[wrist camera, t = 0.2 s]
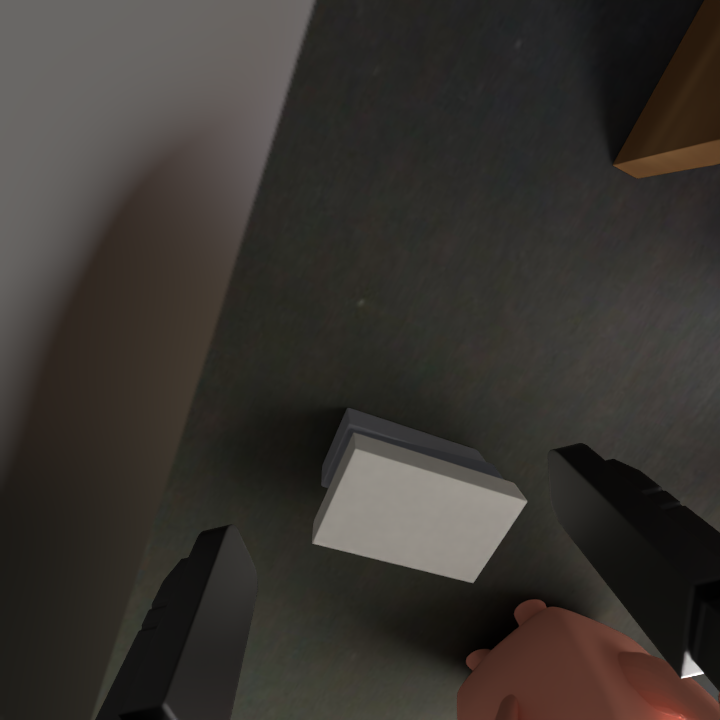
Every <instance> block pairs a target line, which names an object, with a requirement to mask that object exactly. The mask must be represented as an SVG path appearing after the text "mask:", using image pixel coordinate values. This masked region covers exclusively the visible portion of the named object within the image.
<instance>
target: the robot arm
mask: <svg viewBox="0 0 720 720" xmlns="http://www.w3.org/2000/svg"><path fill="white" fill-rule="evenodd" d="M548 469H549V488H550V501H551V505H552V508H553V511H554V513H555V515H556V517H557V519H558V521H559V523H560V524H561V525H562V527H563V528H564V529H565V531H566V532H567V533H568V535H569V536H570V537H571V538H572V540H573V541H574V542H575V544H576V545H577V546H578V547H579V549H580V550H581V551H582V553H583V554H584V555H585V556H586V558H587V559H588V560H589V562H590V563H591V564H592V565H593V567H594V568H595V569H596V571H597V572H598V573H599V574H600V576H601V577H602V578H603V580H604V581H605V582H606V583H607V585H608V586H609V587H610V589H611V590H612V591H613V592H614V594H615V595H616V596H617V598H618V599H619V600H620V601H621V603H622V604H623V605H624V607H625V608H626V609H627V610H628V612H629V613H630V614H631V616H632V617H633V618H634V619H635V621H636V622H637V623H638V625H639V626H640V627H641V628H642V630H643V631H644V632H645V634H646V635H647V636H648V637H649V639H650V640H651V641H652V643H653V644H654V645H655V647H656V648H657V649H658V650H659V652H660V653H661V654H662V656H663V657H664V658H665V659H666V661H667V662H668V663H669V665H670V666H671V667H672V668H673V670H674V671H675V672H676V674H677V675H678V676H679V677H680V679H682V678H686V677H691V676H695V675H699V674H705V675H706V676H707V677H708V679H709V680H710V681H711V682H712V683H713V685H714V686H715V687H716V688H717V689H718V690H719V696H718V698H719V706H720V533H719V532H718V531H717V530H716V529H714V528H713V527H712V526H710V525H709V524H708V523H707V522H705V521H704V520H703V519H701V518H700V517H699V516H698V515H696V514H695V513H694V512H692V511H691V510H690V509H689V508H687V507H686V506H682V505H681V504H680V501H678V500H677V499H676V498H674V497H673V496H672V495H671V494H669V493H668V492H667V491H663V490H662V489H661V487H660V486H659V485H658V484H656V483H655V482H654V481H652V480H651V479H650V478H649V477H647V476H646V475H645V474H643V473H642V472H641V471H640V470H637V469H635V468H633V467H631V466H628V465H626V464H624V463H622V462H619V461H617V460H615V459H611V460H606V461H605V460H604V459H603V458H602V457H600V456H599V455H598V454H597V453H596V452H594V451H593V450H592V449H591V448H590V447H588V446H587V445H585V444H583V443H579V444H574V445H570V446H566V447H562V448H558V449H553V450H550V451H549V453H548ZM257 590H258V579H257V572H256V568H255V565H254V563H253V561H252V559H251V557H250V554H249V552H248V550H247V548H246V546H245V544H244V541H243V539H242V537H241V535H240V533H239V530H238V529H237V527H236V526H235V525H233V524H231V525H227V526H222V527H218V528H214V529H210V530H206V531H202V532H201V533H200V534H199V536H198V537H197V540H196V542H195V544H194V546H193V549H192V551H191V553H190V555H189V557H188V558H184V559H181V560H180V562H179V563H178V564H177V565H176V566H175V568H174V569H173V570H172V571H171V572H170V574H169V575H168V576H167V577H166V578H165V580H164V581H163V583H162V585H161V587H160V589H159V591H158V593H157V595H156V597H155V599H154V601H153V603H152V609H150V610H149V611H148V613H147V615H146V617H145V619H144V621H143V624H142V629H141V630H140V631H139V632H138V634H137V636H136V638H135V640H134V642H133V644H132V646H131V648H130V650H129V652H128V654H127V656H126V658H125V660H124V662H123V664H122V666H121V668H120V670H119V672H118V674H117V676H116V679H115V681H114V683H113V685H112V687H111V689H110V691H109V693H108V695H107V697H106V699H105V701H104V703H103V705H102V707H101V709H100V711H99V713H98V715H97V717H96V719H95V720H230V719H231V714H232V709H233V704H234V700H235V695H236V690H237V686H238V681H239V676H240V672H241V667H242V662H243V658H244V653H245V648H246V644H247V639H248V634H249V630H250V625H251V620H252V616H253V611H254V606H255V601H256V597H257Z"/></svg>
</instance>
